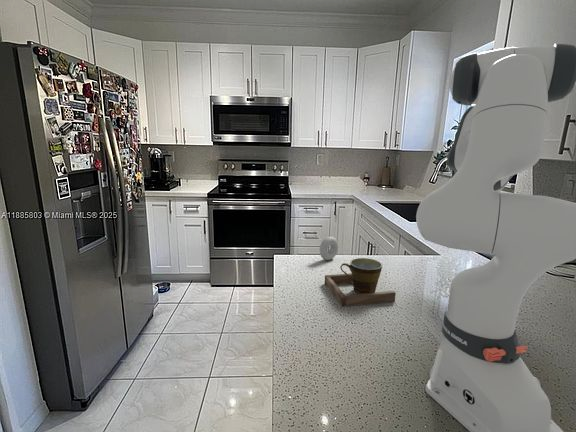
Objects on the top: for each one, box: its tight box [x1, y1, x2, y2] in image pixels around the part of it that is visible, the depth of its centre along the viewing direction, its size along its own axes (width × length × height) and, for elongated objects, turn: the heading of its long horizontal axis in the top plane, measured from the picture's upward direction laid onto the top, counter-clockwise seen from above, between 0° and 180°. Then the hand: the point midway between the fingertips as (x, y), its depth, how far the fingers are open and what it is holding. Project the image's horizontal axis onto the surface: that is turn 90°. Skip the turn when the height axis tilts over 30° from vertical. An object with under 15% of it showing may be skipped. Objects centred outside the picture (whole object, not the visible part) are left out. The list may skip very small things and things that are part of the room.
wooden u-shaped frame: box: [324, 273, 396, 307], centre depth 103 cm, size 16×17×3 cm
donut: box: [319, 236, 339, 261], centre depth 131 cm, size 10×4×10 cm, turn 131°
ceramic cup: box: [339, 257, 383, 294], centre depth 102 cm, size 13×10×10 cm
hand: (441, 230), depth 105 cm, fingers closed
